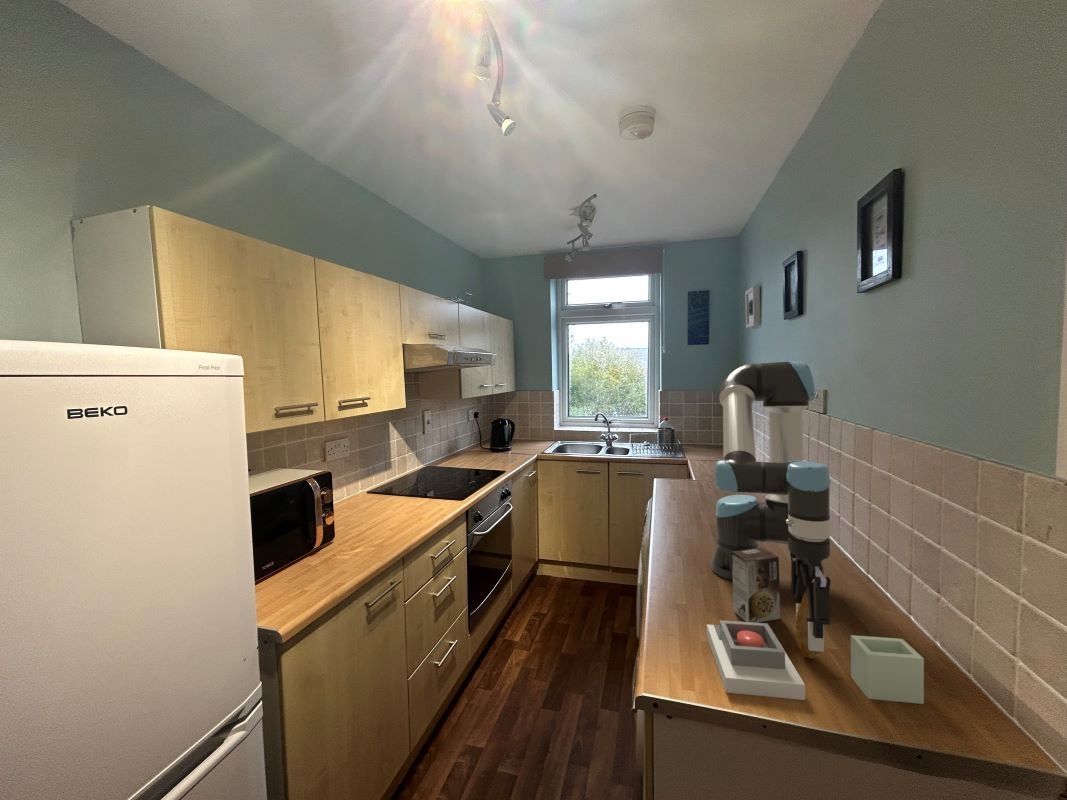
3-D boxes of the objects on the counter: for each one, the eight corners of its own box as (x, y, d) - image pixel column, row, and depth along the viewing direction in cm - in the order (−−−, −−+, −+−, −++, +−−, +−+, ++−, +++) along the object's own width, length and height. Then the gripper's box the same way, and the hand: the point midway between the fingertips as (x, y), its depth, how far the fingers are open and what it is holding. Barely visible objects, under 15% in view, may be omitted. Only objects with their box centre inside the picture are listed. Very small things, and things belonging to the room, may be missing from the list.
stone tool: (821, 656, 92) (821, 589, 91) (825, 663, 90) (824, 594, 89) (795, 652, 93) (794, 586, 93) (798, 659, 91) (797, 591, 90)
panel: (707, 636, 100) (706, 610, 100) (771, 641, 98) (771, 614, 97) (726, 692, 83) (725, 660, 82) (805, 700, 80) (804, 666, 80)
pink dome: (734, 642, 93) (734, 629, 93) (759, 644, 92) (759, 631, 92) (741, 657, 88) (740, 643, 88) (767, 659, 87) (766, 645, 87)
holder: (851, 676, 86) (850, 635, 85) (902, 680, 84) (902, 638, 83) (868, 698, 80) (868, 654, 79) (923, 703, 78) (923, 658, 77)
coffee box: (763, 606, 112) (762, 546, 112) (781, 619, 106) (780, 556, 105) (732, 610, 111) (730, 550, 110) (748, 624, 104) (747, 560, 104)
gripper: (773, 520, 100) (775, 616, 101) (807, 552, 82) (809, 668, 83) (809, 521, 98) (810, 618, 100) (851, 554, 80) (852, 671, 82)
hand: (809, 640), depth 91 cm, fingers open, 5 cm apart
